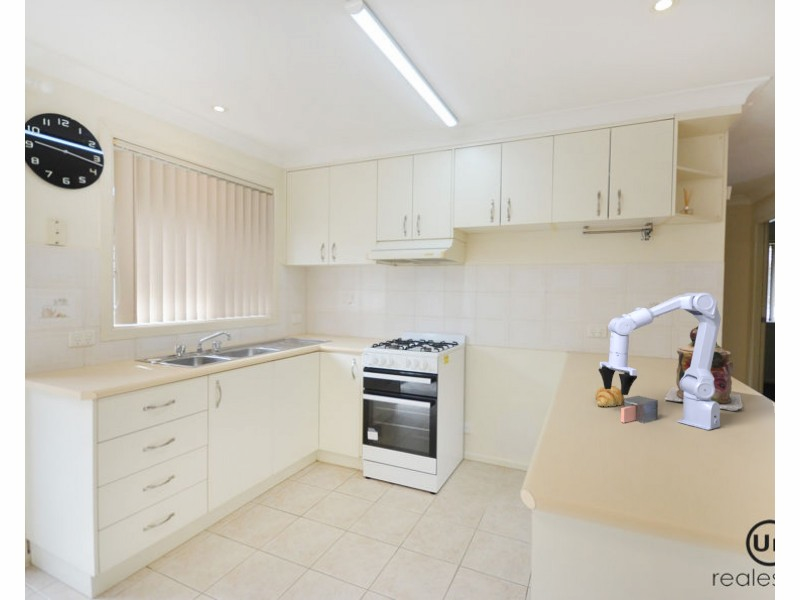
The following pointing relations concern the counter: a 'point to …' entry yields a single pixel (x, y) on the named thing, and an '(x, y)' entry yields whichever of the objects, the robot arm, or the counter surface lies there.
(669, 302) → the robot arm
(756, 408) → the counter surface
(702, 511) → the counter surface
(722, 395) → the cookie jar
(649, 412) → the grey cube
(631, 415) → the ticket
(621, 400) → the croissant
